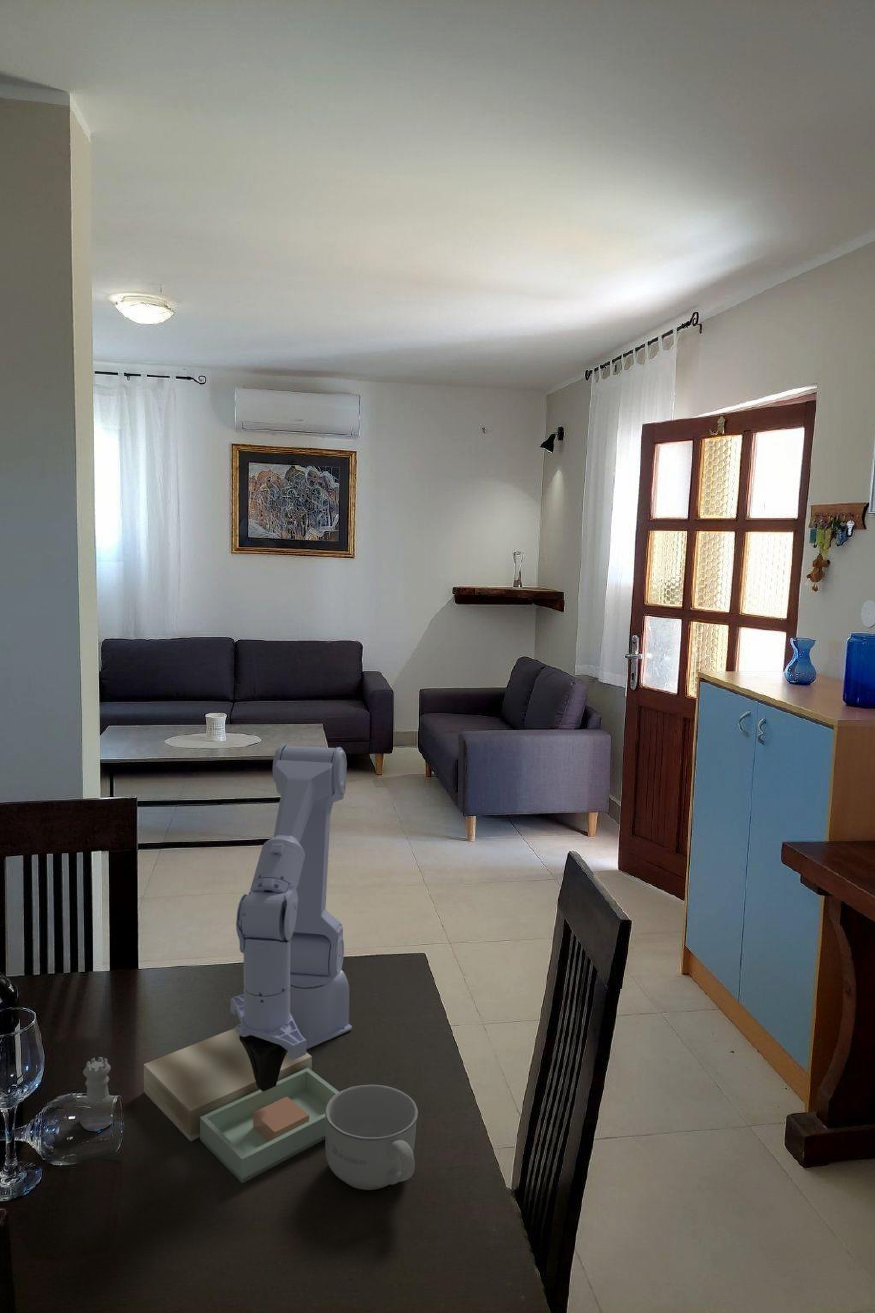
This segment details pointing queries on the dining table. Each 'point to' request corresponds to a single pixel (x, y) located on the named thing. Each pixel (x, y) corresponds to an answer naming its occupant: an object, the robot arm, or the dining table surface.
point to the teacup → (371, 1136)
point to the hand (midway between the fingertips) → (266, 1086)
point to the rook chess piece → (97, 1079)
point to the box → (245, 1146)
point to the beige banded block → (206, 1079)
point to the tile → (279, 1118)
